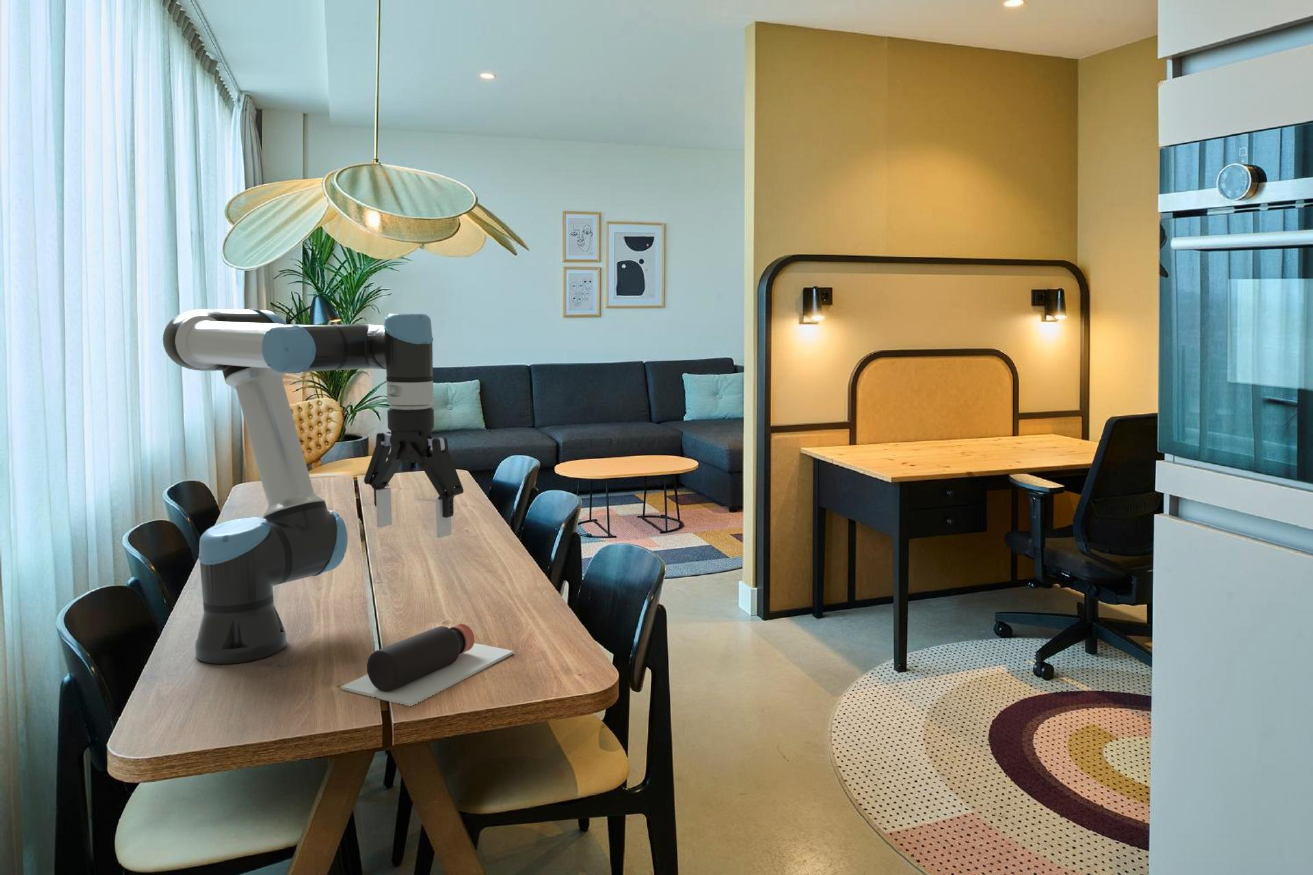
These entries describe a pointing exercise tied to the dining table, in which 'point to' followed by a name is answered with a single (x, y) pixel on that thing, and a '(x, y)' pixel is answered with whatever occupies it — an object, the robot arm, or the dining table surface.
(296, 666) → the dining table surface
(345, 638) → the dining table surface
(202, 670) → the dining table surface
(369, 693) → the mat
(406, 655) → the vinegar
